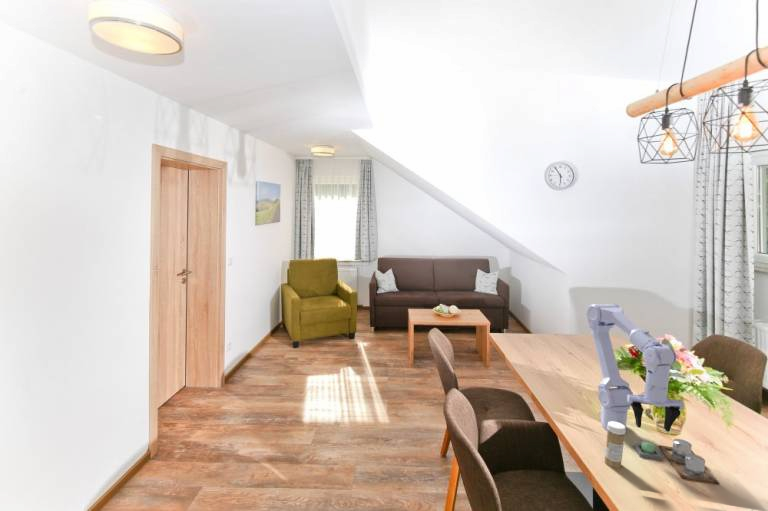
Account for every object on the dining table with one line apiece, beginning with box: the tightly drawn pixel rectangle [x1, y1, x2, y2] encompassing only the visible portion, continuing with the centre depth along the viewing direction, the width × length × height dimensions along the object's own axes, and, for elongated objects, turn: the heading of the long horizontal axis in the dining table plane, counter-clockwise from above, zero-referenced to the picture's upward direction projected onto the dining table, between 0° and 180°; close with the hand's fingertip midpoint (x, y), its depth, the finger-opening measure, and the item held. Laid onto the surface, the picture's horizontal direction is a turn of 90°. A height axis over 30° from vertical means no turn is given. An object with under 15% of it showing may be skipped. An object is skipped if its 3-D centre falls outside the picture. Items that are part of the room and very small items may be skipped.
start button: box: [640, 440, 656, 454], centre depth 127 cm, size 3×3×3 cm
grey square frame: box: [632, 442, 663, 461], centre depth 127 cm, size 6×6×2 cm
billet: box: [683, 453, 706, 478], centre depth 117 cm, size 4×4×6 cm
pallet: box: [658, 444, 720, 486], centre depth 122 cm, size 17×9×2 cm, turn 165°
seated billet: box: [671, 438, 692, 461], centre depth 125 cm, size 4×4×6 cm
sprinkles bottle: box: [603, 421, 626, 469], centre depth 120 cm, size 5×5×13 cm
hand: (652, 427), depth 126 cm, fingers open, 7 cm apart
